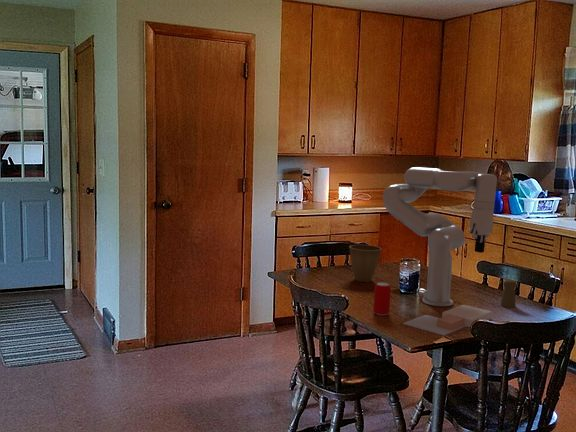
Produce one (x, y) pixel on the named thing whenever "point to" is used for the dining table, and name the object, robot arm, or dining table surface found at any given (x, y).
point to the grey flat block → (468, 314)
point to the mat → (430, 325)
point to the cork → (508, 294)
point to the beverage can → (382, 299)
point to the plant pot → (364, 261)
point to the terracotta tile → (450, 322)
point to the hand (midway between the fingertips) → (479, 251)
